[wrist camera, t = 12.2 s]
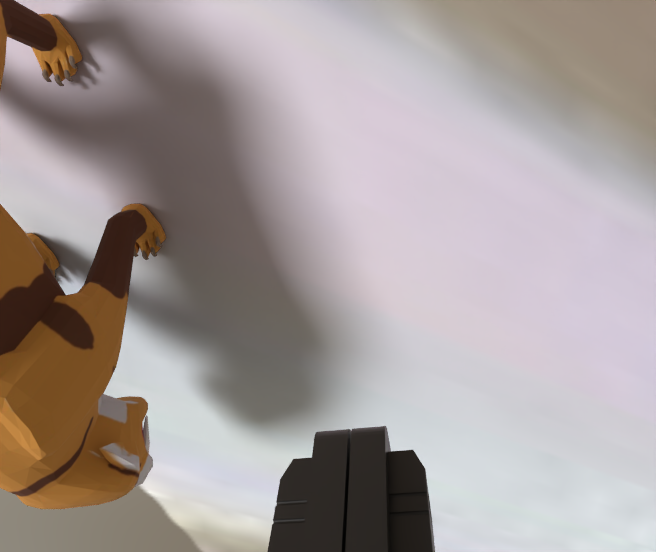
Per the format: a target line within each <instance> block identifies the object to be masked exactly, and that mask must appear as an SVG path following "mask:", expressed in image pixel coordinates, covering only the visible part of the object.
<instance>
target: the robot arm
mask: <svg viewBox="0 0 656 552" xmlns="http://www.w3.org/2000/svg"><path fill="white" fill-rule="evenodd" d="M273 521H274V524H272V530H271V536H270V541H269V547H268V552H435V546H434V536H433V526H432V517H431V509H430V502H429V494H428V487H427V479H426V472H425V468H424V466H423V465H422V463H421V462H420V460H419V459H418V457H417V455H416V454H415V452H414V451H413V450H406V451H392V452H391V450H390V444H389V438H388V432H387V428H386V426H382V427H370V428H357V429H352V431H351V430H350V429H347V430H335V431H323V432H316V434H315V438H314V446H313V454H312V458H302V459H293V461H292V462H291V464H290V465H289V467H288V468H287V470H286V471H285V473H284V475H283V476H282V478H281V479H280V485H279V490H278V496H277V506H276V507H275V513H274V519H273Z"/></svg>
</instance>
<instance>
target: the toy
mask: <svg viewBox="0 0 656 552" xmlns="http://www.w3.org/2000/svg"><path fill="white" fill-rule="evenodd" d="M7 37H10V38H12V39H14V40H17V41H19V42H21V43H24V44H26V45H28V46H30V47H32V49H33V51H34V53H35V55H36V57H37V59H38V62H39V64H40V66H41V69H42V72H43V73H42V75H43V77H44V79H45V80H46V81H47V82H52V81H51V80H50V79H49V77H50V76H51V74H52V73H53V74H54V76H55V81H56V82H57V84H59V85H60V86H64V85H63V84H62V82H61V81H63V80H64V79H65V78H67V79H68V80H69V81H73V80H72V79H71V76H73V75H75V74H76V71H77V69H78V68H77V66H76V65H75V64H76V63H78V62H80V61H81V60H82V55H81V53H80V51H79V49H78V46H77V44H76V42H75V41H74V39H73V38H72V37H71V36H70V34H69V33H68V32H67V30H66V29H65V28H64V27H63V25H62V24H61V23H60V21H59V20H58V19H57V18H56V17H54V16H52V15H51V14H39V15H38V14H37V13H35V12H33V11H32V10H30V9H28V8H26V7H25V6H23V5H21V4H19V3H18V2H16V1H14V0H0V89H1V83H2V78H3V72H4V66H5V54H6V41H7ZM165 239H166V235H165V233H164V231H163V229H162V226H161V225H160V223H159V222H158V221H157V220H156V218H155V217H154V216H153V215H152V214H151V212H150V211H149V210H148V209H147V208H146V207H145V206H143V205H141V204H130V205H127V206H125V207H124V208H123V209H122V211H121V212H119V213H117V214H116V215H114V216H113V217H111V218H110V219H109V220H108V222H107V225H106V228H105V230H104V233H103V236H102V239H101V242H100V244H99V247H98V250H97V253H96V255H95V258H94V261H93V263H92V266H91V268H90V271H89V274H88V276H87V279H86V281H85V284H84V286H83V287H82V288H81V289H80V291H79V292H78V293H75V294H70V295H65V293H64V292H63V290H62V288H61V287H60V285H59V283H58V282H57V280H56V279H55V277H56V276H55V269H57V268H58V267H59V262H58V260H57V258H56V257H55V255H54V253H53V252H52V251H51V250H50V249H49V248H48V247H47V246H46V244H45V243H44V242H43V241H42V240H41V239H40V238H39V237H38V236H36V235H34V234H32V233H25V232H24V231H23V230H22V228H21V227H20V226H19V225H18V224H17V223H16V221H15V220H14V219H13V218H12V217H11V216H10V215H9V213H8V212H7V211H6V210H5V209H4V208H3V207H2V205H1V204H0V488H1V489H4V490H6V491H8V492H11V493H13V494H16V495H17V497H18V498H19V499H20V500H21V501H22V502H23V503H24V504H26V505H27V506H31V507H35V508H40V509H65V508H74V507H83V506H90V505H99V504H103V503H106V502H110V501H114V500H116V499H118V498H120V497H122V496H124V495H126V494H127V493H128V492H129V491H130V490H132V489H133V488H134V487H136V486H138V485H140V484H142V483H143V482H144V480H145V479H146V477H147V475H148V473H149V471H150V470H151V468H152V467H153V459H152V457H151V456H150V455H149V444H150V441H149V429H148V417H147V415H146V413H147V410H148V403H147V402H146V401H145V399H143V398H142V397H121V398H113V397H110V396H107V395H104V394H103V393H104V391H105V389H106V387H107V385H108V383H109V381H110V379H111V377H112V374H113V372H114V370H115V368H116V365H117V361H118V357H119V353H120V348H121V342H122V335H123V329H124V322H125V316H126V309H127V302H128V294H129V286H130V279H131V271H132V263H133V256H135V257H137V256H138V254H137V253H138V251H139V248H140V249H141V251H142V256H143V258H144V259H145V260H148V259H149V258H148V256H149V254H150V252H151V254H152V255H153V256H154V257H155V256H157V254H156V253H157V252H158V250H159V249H160V247H162V245H161V243H162V242H163V241H164V240H165ZM145 415H146V417H145ZM144 417H145V422H144V428H143V427H142V421H143V419H144Z"/></svg>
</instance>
